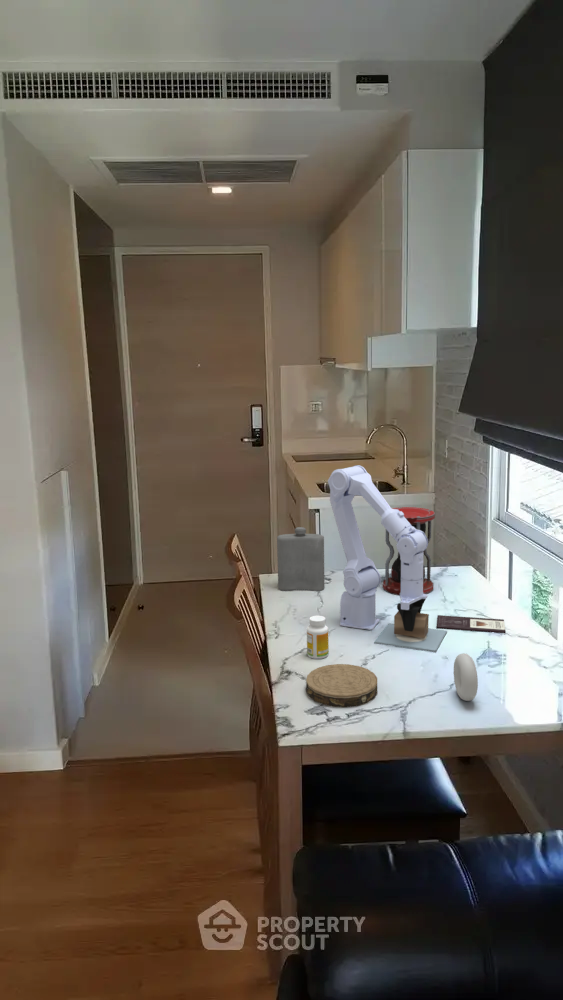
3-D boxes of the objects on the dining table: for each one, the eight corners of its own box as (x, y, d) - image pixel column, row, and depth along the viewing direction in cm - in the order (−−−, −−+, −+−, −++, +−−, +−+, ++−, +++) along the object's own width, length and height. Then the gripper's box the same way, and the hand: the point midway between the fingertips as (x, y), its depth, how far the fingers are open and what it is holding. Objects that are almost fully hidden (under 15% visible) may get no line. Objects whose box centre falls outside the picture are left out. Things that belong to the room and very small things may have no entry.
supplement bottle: (331, 651, 180) (330, 615, 178) (325, 660, 175) (324, 623, 173) (310, 649, 181) (310, 613, 179) (304, 657, 176) (303, 620, 174)
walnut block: (424, 638, 183) (424, 619, 182) (394, 633, 187) (394, 615, 186) (428, 632, 187) (428, 614, 186) (398, 627, 191) (398, 610, 190)
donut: (451, 688, 158) (452, 646, 157) (466, 687, 158) (467, 645, 157) (462, 709, 149) (464, 665, 147) (479, 709, 149) (480, 665, 147)
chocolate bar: (437, 615, 202) (503, 619, 197) (437, 618, 202) (503, 622, 197) (436, 626, 193) (505, 631, 189) (436, 630, 193) (505, 634, 189)
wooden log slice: (292, 689, 160) (291, 677, 160) (343, 669, 170) (343, 658, 169) (339, 716, 148) (339, 703, 147) (392, 693, 157) (392, 680, 157)
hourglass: (375, 582, 233) (375, 508, 228) (420, 578, 237) (421, 505, 232) (394, 598, 218) (394, 519, 213) (442, 593, 222) (444, 515, 217)
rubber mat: (374, 643, 184) (374, 641, 184) (388, 624, 197) (388, 622, 197) (435, 652, 178) (435, 650, 178) (446, 632, 190) (447, 630, 190)
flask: (324, 585, 232) (323, 525, 228) (324, 591, 226) (323, 530, 222) (279, 585, 233) (277, 526, 229) (277, 591, 227) (276, 530, 223)
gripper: (420, 587, 176) (419, 639, 178) (433, 571, 189) (432, 619, 191) (392, 584, 179) (392, 635, 181) (407, 568, 192) (406, 616, 194)
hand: (411, 627), depth 187 cm, fingers open, 5 cm apart
